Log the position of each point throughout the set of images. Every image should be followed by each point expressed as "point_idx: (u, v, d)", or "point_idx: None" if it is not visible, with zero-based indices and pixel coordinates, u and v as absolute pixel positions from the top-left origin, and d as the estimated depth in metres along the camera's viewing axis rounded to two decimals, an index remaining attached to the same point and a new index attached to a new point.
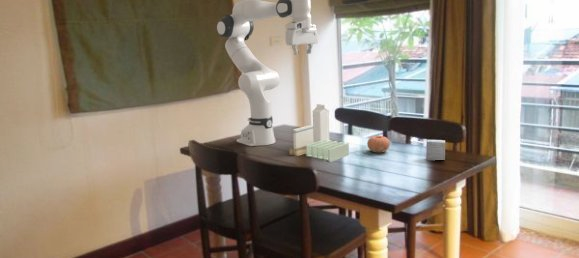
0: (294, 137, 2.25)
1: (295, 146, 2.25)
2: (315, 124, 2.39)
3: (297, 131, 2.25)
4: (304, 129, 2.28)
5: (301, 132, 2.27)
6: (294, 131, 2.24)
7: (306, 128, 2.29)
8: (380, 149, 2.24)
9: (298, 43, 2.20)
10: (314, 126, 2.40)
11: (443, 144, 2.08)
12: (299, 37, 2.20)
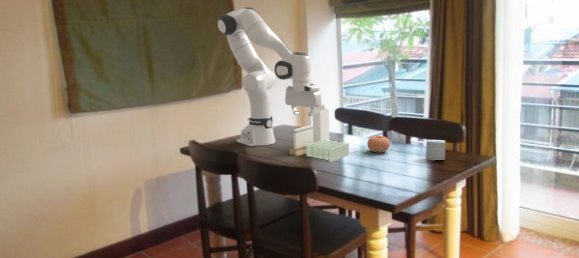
0: (294, 137, 2.25)
1: (295, 146, 2.25)
2: (315, 124, 2.39)
3: (297, 131, 2.25)
4: (304, 129, 2.28)
5: (301, 132, 2.27)
6: (294, 131, 2.24)
7: (306, 128, 2.29)
8: (380, 149, 2.24)
9: None
10: (314, 126, 2.40)
11: (443, 144, 2.08)
12: None
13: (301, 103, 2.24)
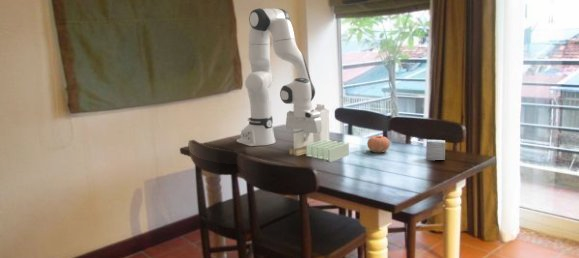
0: (294, 137, 2.25)
1: (295, 146, 2.25)
2: None
3: (297, 131, 2.25)
4: None
5: (301, 132, 2.27)
6: (294, 131, 2.24)
7: None
8: (380, 149, 2.24)
9: None
10: None
11: (443, 144, 2.08)
12: None
13: None
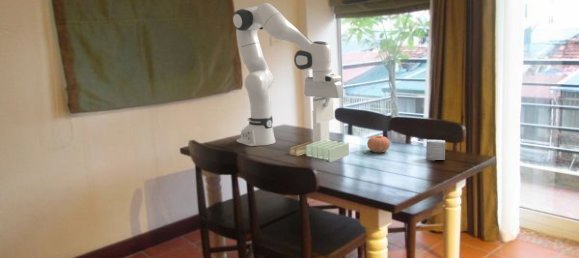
0: (314, 105, 2.15)
1: (315, 114, 2.16)
2: (315, 124, 2.39)
3: (317, 99, 2.15)
4: (324, 97, 2.19)
5: (321, 100, 2.17)
6: (314, 99, 2.15)
7: None
8: (380, 149, 2.24)
9: None
10: (314, 126, 2.40)
11: (443, 144, 2.08)
12: None
13: (321, 93, 2.17)
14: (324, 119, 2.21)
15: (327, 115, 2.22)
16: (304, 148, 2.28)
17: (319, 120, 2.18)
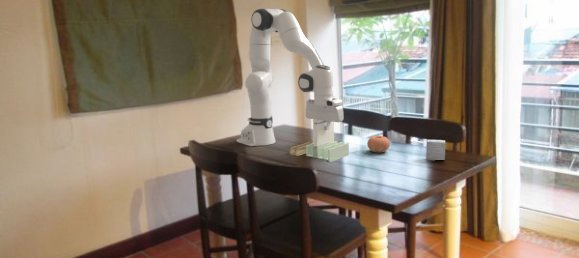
0: (315, 129, 2.18)
1: (316, 138, 2.18)
2: None
3: (318, 122, 2.18)
4: (325, 121, 2.21)
5: (322, 124, 2.20)
6: (315, 122, 2.17)
7: None
8: (380, 149, 2.24)
9: None
10: None
11: (443, 144, 2.08)
12: None
13: (322, 117, 2.20)
14: (325, 142, 2.23)
15: (328, 138, 2.24)
16: (304, 148, 2.28)
17: (320, 143, 2.20)
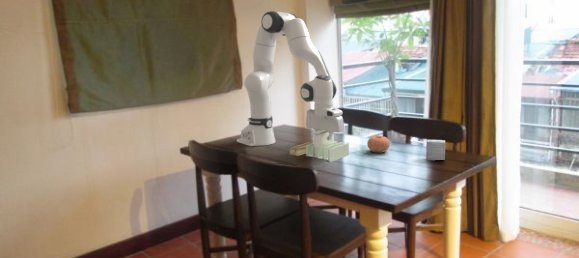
0: (315, 139, 2.19)
1: (316, 148, 2.19)
2: None
3: (318, 133, 2.19)
4: (325, 131, 2.22)
5: (322, 134, 2.21)
6: (315, 133, 2.18)
7: None
8: (380, 149, 2.24)
9: None
10: None
11: (443, 144, 2.08)
12: None
13: (323, 127, 2.21)
14: None
15: None
16: (304, 148, 2.28)
17: None
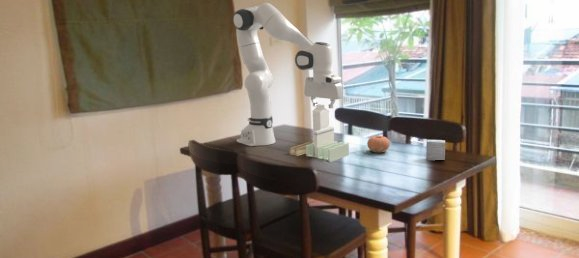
0: (315, 139, 2.19)
1: (316, 148, 2.19)
2: (315, 124, 2.39)
3: (318, 133, 2.19)
4: (325, 131, 2.22)
5: (322, 134, 2.21)
6: (315, 133, 2.18)
7: (327, 130, 2.23)
8: (380, 149, 2.24)
9: None
10: (314, 126, 2.40)
11: (443, 144, 2.08)
12: None
13: (321, 94, 2.18)
14: None
15: None
16: (304, 148, 2.28)
17: None
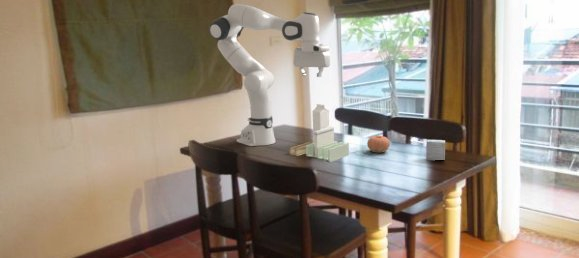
0: (315, 139, 2.19)
1: (316, 148, 2.19)
2: (315, 124, 2.39)
3: (318, 133, 2.19)
4: (325, 131, 2.22)
5: (322, 134, 2.21)
6: (315, 133, 2.18)
7: (327, 130, 2.23)
8: (380, 149, 2.24)
9: None
10: (314, 126, 2.40)
11: (443, 144, 2.08)
12: None
13: (309, 63, 2.24)
14: None
15: None
16: (304, 148, 2.28)
17: None
